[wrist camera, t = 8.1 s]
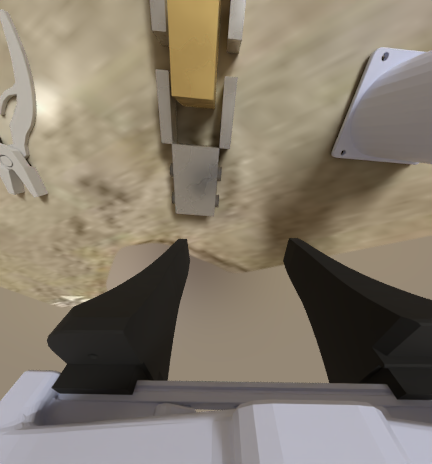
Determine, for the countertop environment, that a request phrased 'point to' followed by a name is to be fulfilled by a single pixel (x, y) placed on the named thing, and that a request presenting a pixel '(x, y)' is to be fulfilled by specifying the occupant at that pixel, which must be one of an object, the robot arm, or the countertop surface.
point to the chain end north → (194, 151)
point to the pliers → (19, 119)
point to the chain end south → (234, 32)
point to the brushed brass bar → (194, 50)
